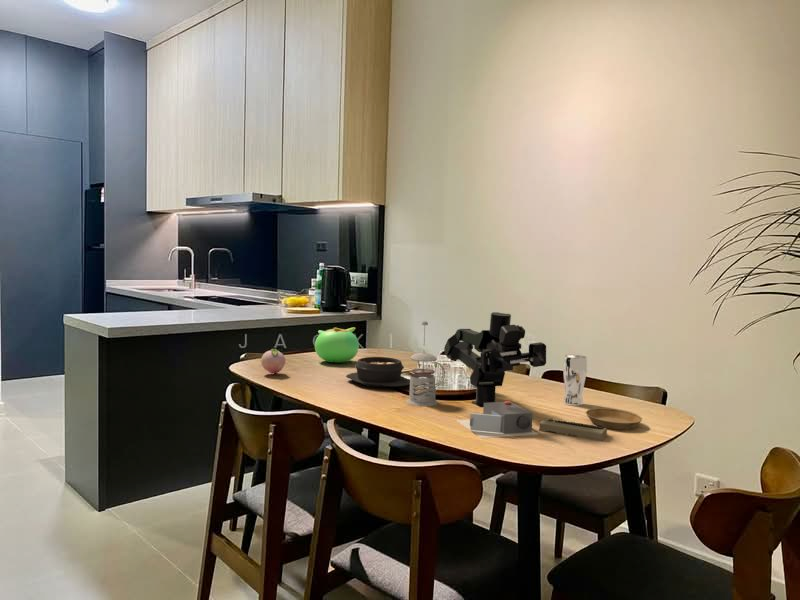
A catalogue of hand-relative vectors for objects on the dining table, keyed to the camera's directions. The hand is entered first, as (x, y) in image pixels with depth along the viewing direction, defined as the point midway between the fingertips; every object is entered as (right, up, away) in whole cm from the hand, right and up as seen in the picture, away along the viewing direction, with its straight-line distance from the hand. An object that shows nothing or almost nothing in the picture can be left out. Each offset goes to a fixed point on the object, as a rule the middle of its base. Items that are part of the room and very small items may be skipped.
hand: (528, 365), depth 154 cm
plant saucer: (+26, -18, +10) cm, 33 cm away
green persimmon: (-60, -9, +89) cm, 108 cm away
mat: (-8, -17, +1) cm, 19 cm away
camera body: (-5, -16, +2) cm, 17 cm away
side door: (-12, -16, -5) cm, 20 cm away
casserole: (-41, -12, +50) cm, 66 cm away
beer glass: (+21, -16, +32) cm, 41 cm away
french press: (-26, -14, +27) cm, 40 cm away
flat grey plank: (+11, -18, -1) cm, 21 cm away
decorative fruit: (-80, -10, +60) cm, 100 cm away
